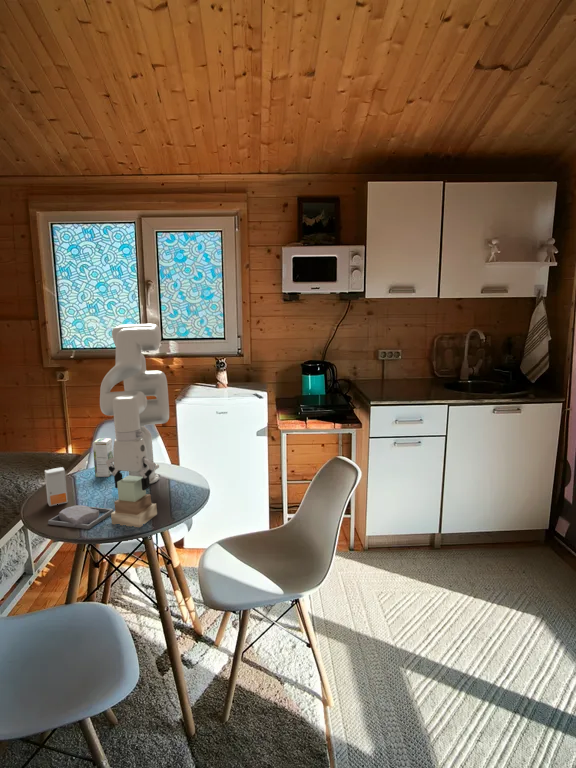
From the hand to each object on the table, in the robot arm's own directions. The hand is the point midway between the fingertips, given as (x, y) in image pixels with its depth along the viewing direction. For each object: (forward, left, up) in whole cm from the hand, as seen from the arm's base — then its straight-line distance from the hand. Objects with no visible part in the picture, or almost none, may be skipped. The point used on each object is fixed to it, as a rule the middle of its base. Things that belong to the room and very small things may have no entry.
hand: (132, 487), depth 161 cm
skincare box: (-5, -34, -10) cm, 36 cm away
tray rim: (+4, -17, -10) cm, 20 cm away
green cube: (0, 0, -3) cm, 3 cm away
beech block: (0, 0, -11) cm, 11 cm away
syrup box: (-34, -36, -10) cm, 51 cm away
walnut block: (0, 0, -7) cm, 7 cm away
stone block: (+4, -17, -11) cm, 21 cm away
